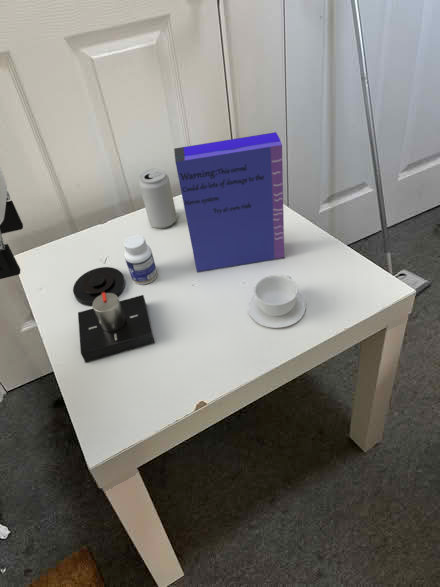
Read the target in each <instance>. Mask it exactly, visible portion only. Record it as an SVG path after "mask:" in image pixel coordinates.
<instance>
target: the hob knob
mask: <svg viewBox="0 0 440 587" xmlns="http://www.w3.org/2000/svg"><path fill="white" fill-rule="evenodd" d="M120 301H121V300H120V299H119V296H117V295H115V294H113V293H105V292H103V293H102V295H100V296H98V297H97V298H96V299H95V300H94V301H93V304H92V306H91V307H92V309H94V311H95V314H96V316H97V318H98V321H99V323H100V325H101V327H102V329H103V330H105V331H107V332H113V331H117V330H119V329H120V328H122V327H123V326H124V324H125V322H126V317H125V314H124V312H123V309H122V306H121V304H120Z"/></svg>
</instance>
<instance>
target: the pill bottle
mask: <svg viewBox="0 0 440 587" xmlns="http://www.w3.org/2000/svg"><path fill="white" fill-rule="evenodd" d="M123 246H124V250H125V251H124V254H123V258H124V260H125V264H126V266H127V269H128V272H129V275H130V278H131V280H132V282H133V283H135V284H136V285H142V286H143V285H148V284H150V283H152V282H153V281H155V280H156V279H157V277H158V269H157V265H156V263H155V262H156V261H155V259H154V258H155V257H154V255H153V251H152V248H151V246H150V245H148V244H147V241H146V239H145V237H144V236H143V235H141V234H133V235H130V236H128V237H126V239H124V242H123Z"/></svg>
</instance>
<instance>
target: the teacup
mask: <svg viewBox="0 0 440 587" xmlns="http://www.w3.org/2000/svg"><path fill="white" fill-rule="evenodd" d="M253 293H254V295H252V297H251V298H250V300H249V302H248V307H247V308H248V309H247V310H248V314H249V316H250V318H251V319H253V321H255V323H257V324H259V325H261V326H264V327H267V328H273V329H274V328H276V329H278V328H280V329H281V328H286V327H289V326H292V325H293V324H295V323H297V322H299V321H300V320H301V319H302V318H303V317H304V315H305V313H306V306H307V305H306V302H305V300H304V298H303V296H302V295H301V294H299V286H298V284H297V282H296V281H295V280H294V279H293V278H292V277H291V276H288V275H282V274H271V275H267V276H265V277H263V278H261V279H259V280H258V281H257V283H256V284H255V286H254V288H253Z"/></svg>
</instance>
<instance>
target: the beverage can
mask: <svg viewBox="0 0 440 587" xmlns="http://www.w3.org/2000/svg"><path fill="white" fill-rule="evenodd" d="M138 184H139V188H140V192H141V196H142V200H143V204H144V208H145V213H146V216H147V220H148V223H149V225H150V226H151V227H153V228H156V229H166V228H169V227H171V226H173V225H174V223H176V221H177V219H178V216H177V210H176V206H175V201H174V196H173V190H172V187H171V181H170V177H169V175H168V174H167V171H166V170H165V169H163V168H149V169H146V170H144V171H143V172H142V173H140V174H139V181H138Z"/></svg>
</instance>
